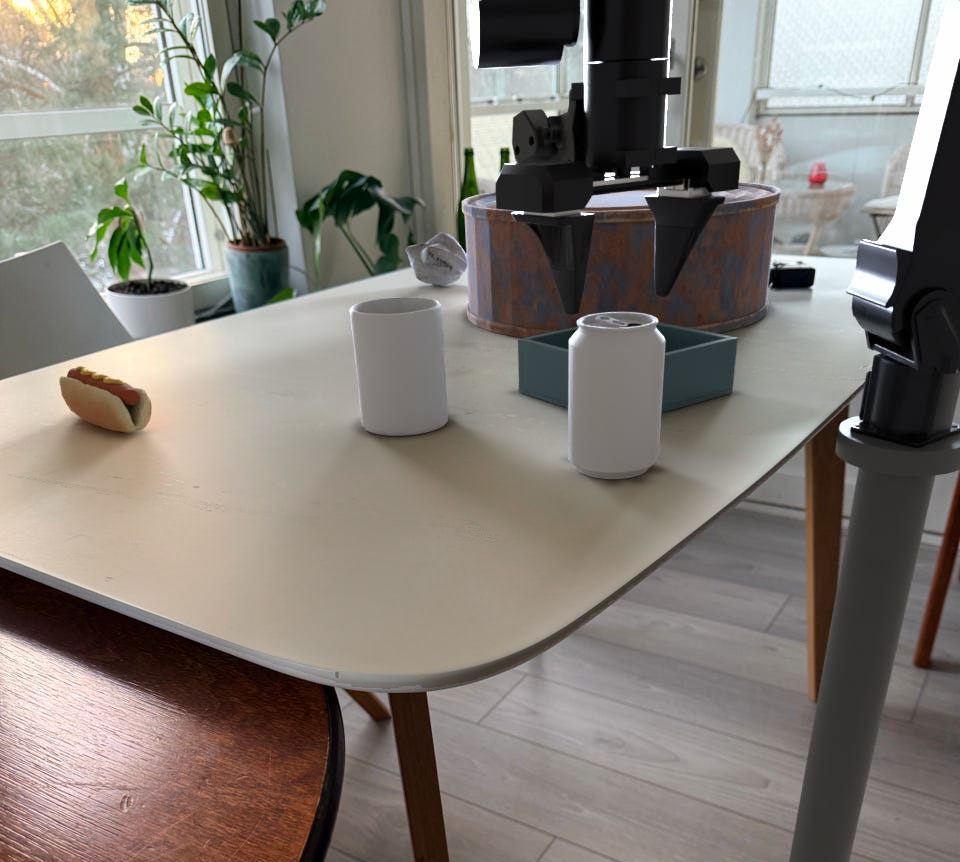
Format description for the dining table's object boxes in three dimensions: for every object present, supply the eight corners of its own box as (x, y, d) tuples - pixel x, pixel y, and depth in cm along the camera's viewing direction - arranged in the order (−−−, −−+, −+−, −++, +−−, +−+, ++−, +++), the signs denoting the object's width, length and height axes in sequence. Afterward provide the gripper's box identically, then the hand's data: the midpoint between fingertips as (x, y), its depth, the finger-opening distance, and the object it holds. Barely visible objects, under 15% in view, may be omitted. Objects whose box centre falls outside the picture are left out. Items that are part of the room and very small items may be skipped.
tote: (732, 393, 93) (738, 337, 90) (619, 425, 85) (621, 366, 83) (626, 365, 104) (628, 315, 101) (518, 392, 96) (517, 338, 94)
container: (631, 273, 157) (634, 176, 150) (835, 308, 126) (852, 187, 118) (414, 308, 138) (405, 200, 131) (589, 360, 107) (592, 220, 99)
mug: (431, 438, 84) (422, 315, 79) (347, 433, 87) (333, 313, 81) (471, 402, 94) (465, 290, 88) (394, 398, 96) (385, 289, 91)
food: (56, 416, 96) (43, 368, 93) (106, 404, 99) (94, 358, 97) (115, 443, 87) (102, 391, 85) (168, 429, 91) (156, 378, 88)
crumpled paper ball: (399, 289, 154) (395, 238, 150) (413, 280, 161) (410, 231, 157) (463, 288, 152) (461, 236, 147) (474, 279, 159) (472, 229, 155)
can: (635, 488, 71) (643, 331, 65) (551, 474, 75) (551, 323, 69) (671, 459, 77) (681, 311, 71) (591, 447, 80) (594, 305, 74)
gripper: (643, 66, 71) (634, 277, 79) (444, 72, 62) (457, 309, 70) (755, 57, 63) (733, 292, 71) (546, 62, 54) (547, 331, 62)
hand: (618, 305), depth 69 cm, fingers open, 9 cm apart
